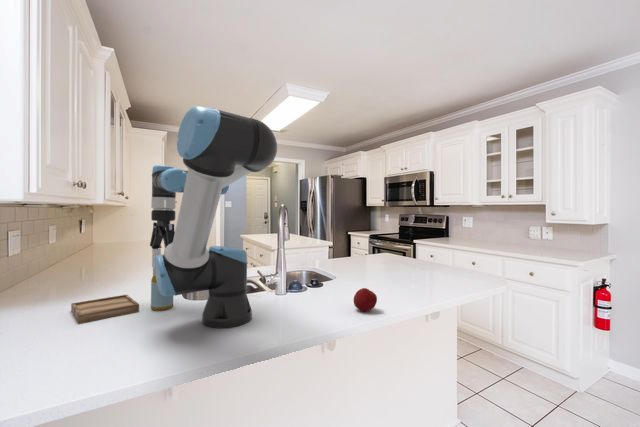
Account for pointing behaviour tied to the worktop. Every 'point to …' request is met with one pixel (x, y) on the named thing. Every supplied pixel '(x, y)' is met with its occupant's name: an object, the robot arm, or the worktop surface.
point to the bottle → (159, 296)
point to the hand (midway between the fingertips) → (162, 269)
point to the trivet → (103, 308)
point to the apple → (365, 300)
